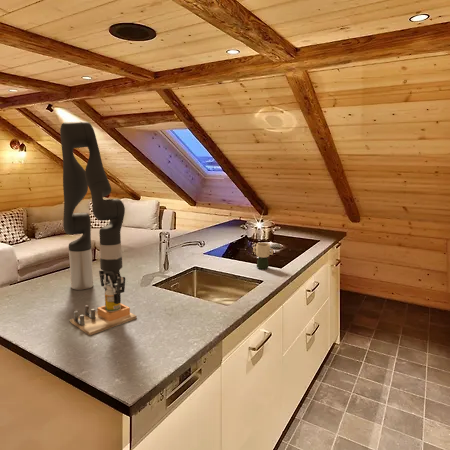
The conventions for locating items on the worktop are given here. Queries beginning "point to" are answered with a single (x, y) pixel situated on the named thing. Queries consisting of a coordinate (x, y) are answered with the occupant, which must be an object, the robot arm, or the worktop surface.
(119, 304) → the supplement bottle
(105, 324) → the board
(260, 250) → the character mug
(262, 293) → the worktop surface
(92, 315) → the set of grey pegs
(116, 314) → the box
